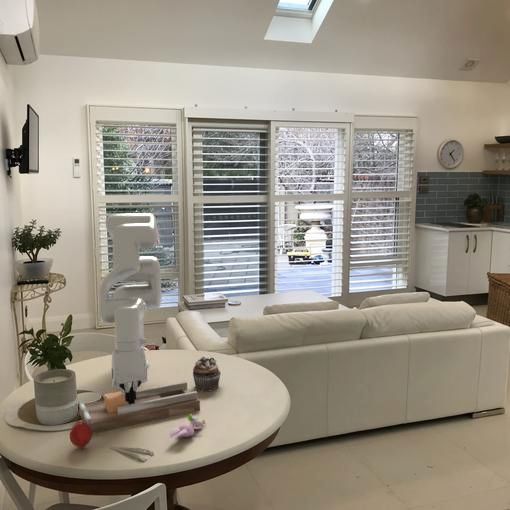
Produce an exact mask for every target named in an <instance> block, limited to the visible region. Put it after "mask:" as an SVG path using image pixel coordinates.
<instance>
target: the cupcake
mask: <svg viewBox="0 0 510 510" xmlns="http://www.w3.org/2000/svg"><path fill="white" fill-rule="evenodd" d="M192 378H193V381H194V385H195V389H197V391H200V390H203V391H202V392H209V390H212V391H215V390H217V389H218V388H219V384H220V378H221V371H220V369H219V366H218V364H217V360H216V359H215V358H213V357H211V358H206V357H205V356H202V357H201V358H200V359H197V361H195V365H194V367H193V369H192ZM216 388H217V389H216ZM214 389H215V390H214Z"/></svg>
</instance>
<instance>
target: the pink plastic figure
mask: <svg viewBox="0 0 510 510" xmlns="http://www.w3.org/2000/svg"><path fill="white" fill-rule="evenodd" d="M187 420H188V421H189V423H190V424H189V423H186V422H183V423H182V424H180V425H179V426H178V427H176V428H173V429H172V430H171V431H170V433H169V438H172V437H174V436H175V437H174V439H175V440H176V439H178V438H179V437H183V438H187V437H188V438H189V437H190V436H193V435H194V434H195V430H202V429H203V426H206V421H205V419H204V420H201V421H200V420H198V417H197V418H195V417H193V413H191V414H189V415H188V417H187Z"/></svg>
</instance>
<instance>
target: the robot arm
mask: <svg viewBox="0 0 510 510" xmlns="http://www.w3.org/2000/svg"><path fill="white" fill-rule="evenodd" d="M105 226H106V227H105V228H106V231H107V233H108V235H109V236H110V238H111V240H112V264H113V265H112V269H111V270H110V271H109V272H108V274H106V275H105V277H104V278H103V280H102V282H101V284H100V287H99V291H98V315H99V318H100V320H101V322H103V323H106V324H114V337H115V338H114V339H115V341H114V342H115V343H114V344H115V348H114V349H113V350H112V354H111V367H110V368H111V369H110V370H111V371H110V373H111V375H110V377H111V379H112V383H111V386H112V388H116V389H117V388H118V389H119V388H120V389H121V390H123V391H124V393H125V400H126V401H127V402H128V403H129V405H130V404H135V400H136V391H138V388H139V387H140V386H141V384H145V383H147V382H148V367H149V366H150V362H149V360H148V359H146V354H145V344H146V342H147V340H146V338H144V337H145V336H144V320H143V319H144V318H145V316H146V315H147V311H149V310H157V309H159V308H160V307H161V305H162V301H163V300H162V275H161V274H162V273H161V265H160V261H159V259H158V258H157V257H156V256H150V255H144V256H140V249H154V248H155V247H156V246H157V244H158V239H159V235H158V234H159V233H158V231H159V230H158V223H157V218H156V216H155V215H154V214H152V213H143V212H142V213H114V214H110V215H108V216H107V217H106V218H105ZM119 282H122V283H126V285H120V286H118V287H116V288H115V289H114V291H113V298H109V292H110V290H111V289H112V288H113V287H114V285H116V284H117V283H119ZM127 283H129V284H127ZM131 283H145V284H131ZM146 283H147V284H146ZM129 383H130V385H129Z"/></svg>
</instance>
